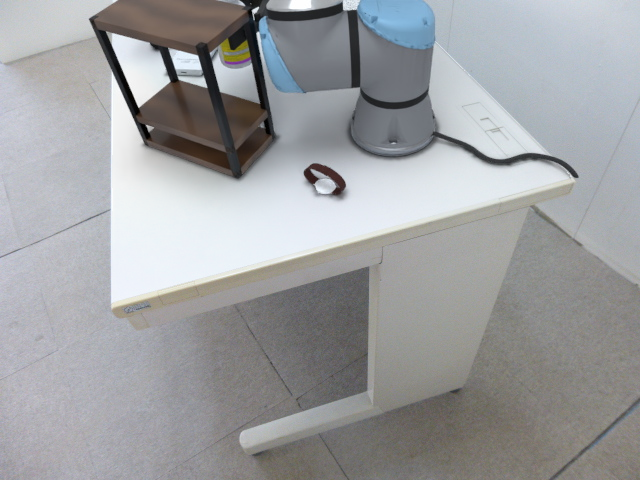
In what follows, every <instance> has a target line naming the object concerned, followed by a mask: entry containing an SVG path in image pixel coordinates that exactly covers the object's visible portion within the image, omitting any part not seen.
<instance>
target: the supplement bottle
mask: <svg viewBox="0 0 640 480" xmlns="http://www.w3.org/2000/svg"><path fill="white" fill-rule="evenodd" d="M218 1H223V2H228V3H233V4H237V5H242V6H245V5H244V3H242V2H241V1H239V0H218ZM217 53H218V57H219V60H220V63H221V64H222V65H223V66H224V67H225V68H227V69H231V70H239V69H243V68H246V67H248V66H250V65H252V62H251V57H250V52H249V48H248V43H247V40H246V41H244V42H243V43H242V44H241V45H240V46H239V47H237V48H236V49H235V50H230V46H229V41H228V38H227V39H226V40H225V41H224V42H223V43H221V44H220V45H219V46H218V47H217Z"/></svg>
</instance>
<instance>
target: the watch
mask: <svg viewBox="0 0 640 480" xmlns="http://www.w3.org/2000/svg"><path fill="white" fill-rule="evenodd" d="M312 170H313V171H316V172H318V173H320V174H322V175H324V176H326V177H328V178H319V177H318V176H316V175H315V174H314V173H313V172H312ZM303 176H304V178H305V179H306V180H307V181H308V182H309V183H310V184H312V185H313V186H314V187H315V190H316V191H317V194H322V195H329V194H331V195H335V196H339V195H341V194H342V193H343V191H344V190H345V189H346V187H347V183H346V181H345V179H344V178H343V177H342V176H341V174H339V173H338V172H337V171H336V170H334V169H333V168H332V167H330V166H328V165H325V164H321V163H319V162H313V163H311V164H309V166H307V167H306V168H305V169H304V170H303ZM336 185H337V186H336Z"/></svg>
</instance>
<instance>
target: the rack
mask: <svg viewBox="0 0 640 480" xmlns="http://www.w3.org/2000/svg"><path fill="white" fill-rule="evenodd" d="M253 13H254V12H253V10H252V8H251V7H247V6H242V5H237V4H233V3H228V2H223V1H218V0H115V1H114V2H112V3H111V4H110V5H108V6H106V7H105V8H103V9H101V10H100V11H98V12H97V13H96V14H94V15H92V16H90V17H89V18H88V21H89V23H90V25H91V27H92V29H93V32H94V34H95V37H96V39H97V41H98V43H99V45H100V48H101V50H102V52H103V54H104V57H105V59H106V61H107V63H108V66H109V68H110V70H111V72H112V75H113V76H114V79H115V81H116V83H117V87H118V88H119V90H120V92H121V95H122V97H123V99H124V101H125V103H126V106H127V108H128V110H129V112H130V114H131V117H132V119H133V121H134V125H135V126H136V129H137V130H138V132H139V135H140V137H141V140H142V142H143V144H144V145H145V146H148V147H150V148H154V149H156V150H159V151H162V152H164V153H167V154H170V155H173V156H174V157H178V158H180V159H183V160H186V161H188V162H192V163H195V164H198V165H200V166H202V167H205V168H208V169H211V170H213V171H217V172H219V173H222V174H224V175H228V176H229V177H233V178H235V179H237V180H238V179H240V178H241V177H242V176H243V175H244V174H245V173H246V171H247V170H249V168H250V167H251V166H252V165H253V164H254V163H255V161H257V159H258V158H259V157H260V156H261V155H262V154H263V152H264V151H265V150H266V149H267V148H268V147H269V146H270V145H271V144H272V143H273V142H274V140H276V139H277V138H276V132H275V131H276V130H275V126H274V119H273V116H272V110H271V105H270V100H269V93H268V89H267V88H268V87H267V83H266V78H265V73H264V66H263V62H262V55H261V50H260V46H259V40H258V33H256V29H255V23H254V20H255V19H254V14H253ZM243 25H244V28H245V33H246V38H247V43H248V48H249V52H250V57H251V62H252V63H251V67H252V72H253V76H254V77H253V78H254V81H255V86H256V91H257V97H258V102H256V101H253V100H249V99H246V98H243V97H239V96H235V95H232V94H229V93H226V92H222V91H221V90H220V86H219V82H218V79H217V75H216V70H215V67H214V63H213V60H212V58H211V56H210V52H212V51H213V50H214V49H215V48H217V47H218V46H219V45H220V44H221V43H223V42H224V41H225V40H226V39H227V38H229V37H230V36H231V35H232V34H233V33H235V32H236V31H237V30H238V29H239V28H241V27H242V26H243ZM108 33H111V34H113V35H114V34H115V35H118V36H122V37H126V38H130V39H133V40H137V41H141V42H145V43H149V44H150V43H152V44H156V45H158V48H159V50H158V51H159V54H160V56H161V59H162V62H163V64H164V68H165V71H166V70H167V72H166V74H167V73H168V74H167V76H168V79H169V82H168V83H167V84H166V85H164V86H163V87H161V89H159V90H158V91H157V92H156V93H155V94H154V95H152V96H151V97H150V98H149V99H147V101H145V102H144V103H143V104H141V105H140V106H138V103H137V101H136V98H135V96H134V94H133V91H132V89H131V87H130V84H129V82H128V80H127V77H126V75H125V73H124V70H123V68H122V65H121V63H120V60H119V59H118V56H117V54H116V52H115V49H114V47H113V45H112V42H111V40H110V37H109V36H108ZM170 49H171V50H175V51H182V52H186V53H190V54H194V55H197V56H198V57H199V61H200V64H201V68H202V71H203V73H202V75H203V78H204V82H205V84H206V87H205V86H202V85H198V84H194V83H191V82H187V81H184V80H181V79H179V75H177V73H176V70H175V67H174V64H173V61H172V59H173V57H172V55H171V52H170ZM262 124H263V126H264V127H261V125H262ZM148 127H151V128H152V129H151V130H150V131H149V128H148Z"/></svg>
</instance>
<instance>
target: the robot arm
mask: <svg viewBox="0 0 640 480" xmlns="http://www.w3.org/2000/svg"><path fill="white" fill-rule="evenodd" d="M239 1H241V2H242V3H244V5H245V6H247V7H251V8H252V11H253V10H255V9H257V10H256V12H253V18H254V23H255V29H256V34H258V33H259V38H260V45H261V50H262V54H263V59H264V63H265V66H266V69H267V72H268V75H269V78H270V80H271V83H272V85H273V86H274V88H276V90H277V91H279V92H280V93H283V94H295V93H298V94H299V93H301V94H307V93H312V92H326V91H337V90H350V89H358V88H359V94H358V97H357V100H356V103H355V106H354V110H353V112H352V114H351V117H350V135H351V137H352V139H353V142H355V144H356V145H358V146H359V147H360V148H361V149H363V150H364V151H367V152H369V153H370V154H374V155H376V156H377V155H378V156H382V157H383V156H384V157H402V156H407V155H412V154H414V153H417V152H419V151H421V150H423V149H424V148H425V147H427V146H428V145H429V144H430V143H431V142H432V140H433V138H434V137H436V138H439V139H441V140H445V141H447V142H450V143H453V144H456V145H458V146H461V147H463V148H465V149H467V150H469V151H470V152H472V153H473V154H474V155H475V156H477V157H478V158H480V159H481V160H483V161H485V162H488V163H491V164H497V165H504V164H505V165H506V164H509V163H514V162H516V161H519V160H523V159H527V158H529V159H530V158H533V159H540V160H544V161H545V160H546V161H550V162H553V163H556V164H558V165H560V166H561V167H563V168H564V169H565V170H567V172H568V173H569V174H570V175H571V176H572V178H574V179H579V178H580V177H579V174H578V173H577V171H576V170H575V169H574V168H573V167H572V166H571V165H570V164H569V163H568V162H566V161H565V160H563V159H561V158H558V157H556V156H553V155H548V154H543V153H537V152H525V153H520V154H517V155H514V156H511V157H507V158H495V157H490V156H487V155H486V154H484V153H483V152H481V151H479V149H477V148H476V147H474V146H472V145H471V144H469V143H467V142H464V141H463V140H460V139H457V138H454V137H451V136H449V135H446V134H443V133H440V132H439V131H438V132H437V131H436V126H437V119H436V114H435V112H434V109H433V106H432V100H431V97H430V83H431V75H432V73H431V72H432V66H433V54H434V46H435V44H436V38H437V37H436V16H435V13H434V10H433V8H432V7H431V6H430V5H429V4H428V3H427V2H426V1H425V0H359V2H358V4H357V7H356V9H346V10H345V9H344V0H239ZM246 40H247V38H246V33H245V28H244V25H243V26H242V27H241V28H239V29H238V30H237V31H236V32H235V33H233V34H232V35H231V36H230V37H229V38H228V41H229V46H230V50H235V49H236V48H237V47H239V46H240V45H241V44H242V43H243V42H244V41H246Z"/></svg>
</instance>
